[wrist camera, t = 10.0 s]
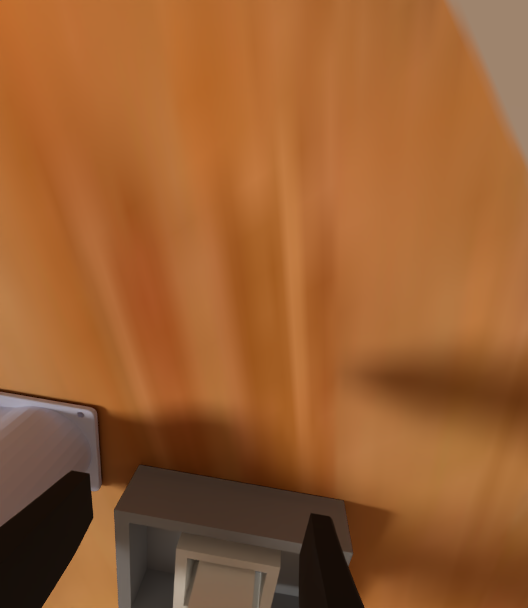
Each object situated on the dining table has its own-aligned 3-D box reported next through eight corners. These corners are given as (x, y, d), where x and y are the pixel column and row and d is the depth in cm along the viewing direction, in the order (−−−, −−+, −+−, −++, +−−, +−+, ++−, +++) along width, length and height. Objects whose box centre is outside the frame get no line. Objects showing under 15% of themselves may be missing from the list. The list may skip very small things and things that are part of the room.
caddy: (140, 563, 27) (117, 617, 24) (139, 464, 23) (112, 512, 20) (313, 595, 27) (317, 656, 23) (343, 500, 23) (353, 556, 19)
